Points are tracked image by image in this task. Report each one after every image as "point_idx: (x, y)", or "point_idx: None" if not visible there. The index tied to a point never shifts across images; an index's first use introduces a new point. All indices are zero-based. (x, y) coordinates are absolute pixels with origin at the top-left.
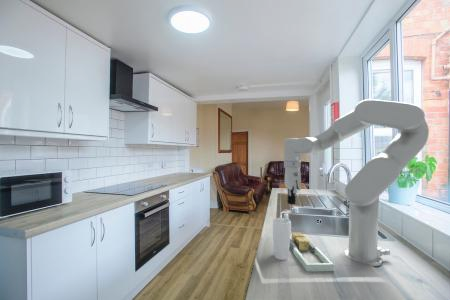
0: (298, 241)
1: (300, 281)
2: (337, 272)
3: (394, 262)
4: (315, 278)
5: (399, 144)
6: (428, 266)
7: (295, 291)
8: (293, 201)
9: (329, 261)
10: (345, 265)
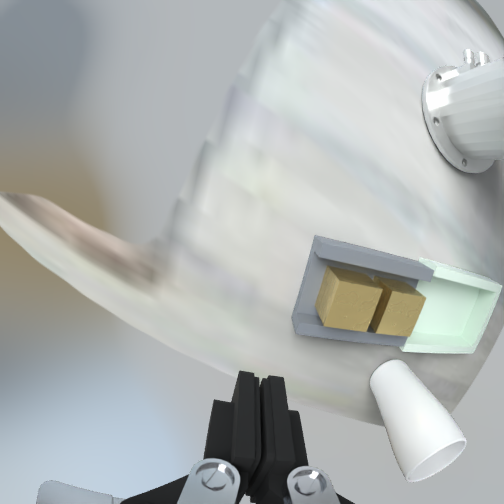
0: (403, 334)
1: (463, 361)
2: (486, 261)
3: None
4: None
5: None
6: (485, 26)
7: (470, 378)
8: (297, 423)
9: (493, 288)
10: (477, 210)
